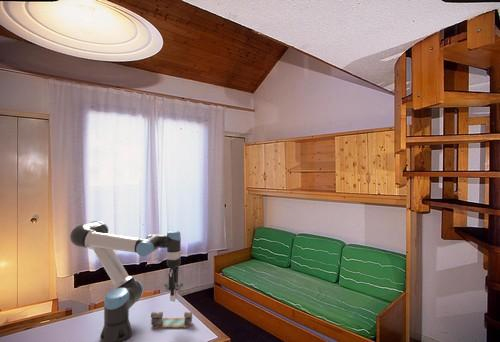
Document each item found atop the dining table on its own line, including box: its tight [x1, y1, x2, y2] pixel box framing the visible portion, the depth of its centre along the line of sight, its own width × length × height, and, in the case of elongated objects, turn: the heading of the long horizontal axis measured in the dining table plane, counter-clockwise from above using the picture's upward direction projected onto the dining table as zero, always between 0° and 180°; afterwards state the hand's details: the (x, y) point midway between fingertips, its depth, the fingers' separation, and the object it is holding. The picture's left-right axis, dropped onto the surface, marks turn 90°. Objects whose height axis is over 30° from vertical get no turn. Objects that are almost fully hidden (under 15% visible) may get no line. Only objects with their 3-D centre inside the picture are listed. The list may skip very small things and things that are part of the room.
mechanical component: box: [164, 281, 184, 293], centre depth 154 cm, size 3×10×10 cm, turn 90°
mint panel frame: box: [150, 311, 193, 329], centre depth 154 cm, size 23×9×7 cm, turn 91°
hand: (173, 299), depth 153 cm, fingers closed on mechanical component, 3 cm apart
